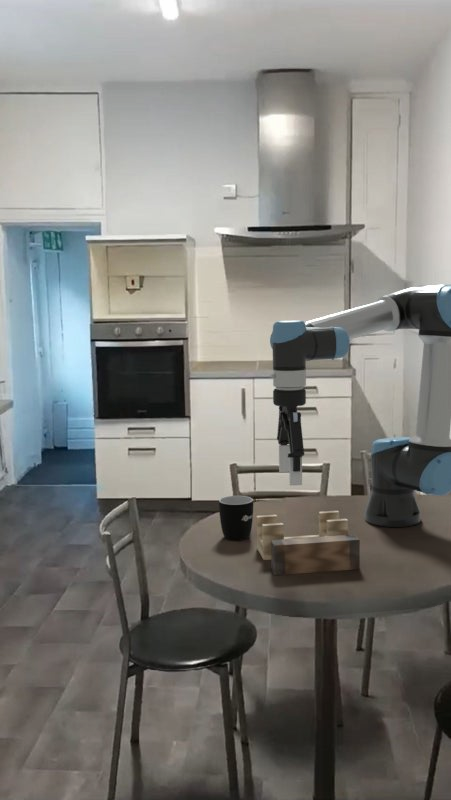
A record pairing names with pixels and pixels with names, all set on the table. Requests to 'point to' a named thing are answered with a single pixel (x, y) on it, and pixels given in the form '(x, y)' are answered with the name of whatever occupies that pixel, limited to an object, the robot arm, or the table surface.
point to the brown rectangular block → (315, 554)
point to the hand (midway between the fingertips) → (290, 478)
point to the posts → (275, 531)
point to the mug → (236, 517)
